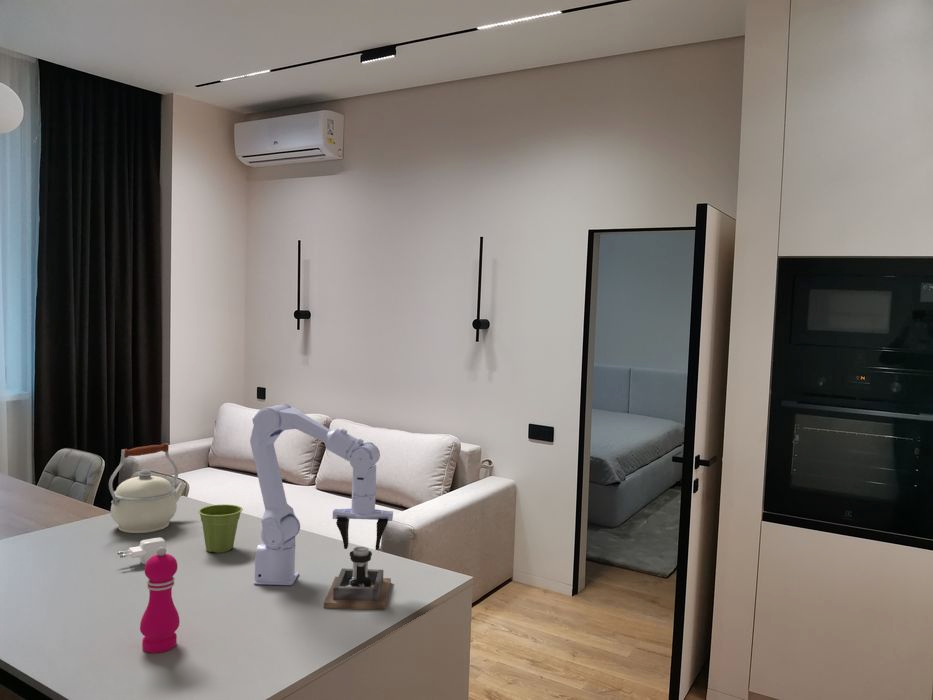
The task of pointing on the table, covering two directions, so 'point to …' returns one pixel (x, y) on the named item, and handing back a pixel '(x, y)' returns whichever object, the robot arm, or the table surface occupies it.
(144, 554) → the power adapter
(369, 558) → the push button
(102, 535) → the table surface
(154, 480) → the kettle
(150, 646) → the pepper mill
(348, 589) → the socket board
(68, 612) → the table surface
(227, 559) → the table surface
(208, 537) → the plant pot
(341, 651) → the table surface
